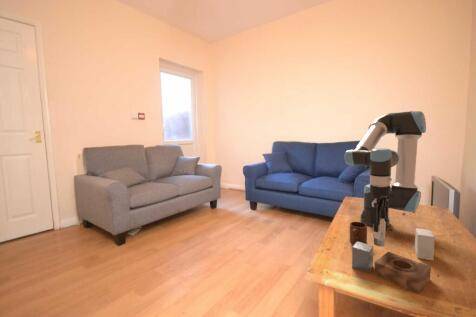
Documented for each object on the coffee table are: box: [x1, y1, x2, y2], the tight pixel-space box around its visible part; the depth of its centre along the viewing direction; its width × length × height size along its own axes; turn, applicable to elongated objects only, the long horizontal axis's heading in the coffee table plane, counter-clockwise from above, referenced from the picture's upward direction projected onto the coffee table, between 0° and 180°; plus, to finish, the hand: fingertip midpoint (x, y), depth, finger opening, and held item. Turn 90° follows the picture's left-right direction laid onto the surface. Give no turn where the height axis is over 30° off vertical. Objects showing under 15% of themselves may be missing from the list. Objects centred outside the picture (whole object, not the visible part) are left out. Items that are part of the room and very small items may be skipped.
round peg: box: [373, 217, 386, 248], centre depth 101 cm, size 4×4×12 cm
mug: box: [349, 221, 368, 246], centre depth 111 cm, size 12×8×9 cm, turn 139°
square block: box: [351, 242, 374, 275], centre depth 93 cm, size 6×6×9 cm
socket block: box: [373, 251, 432, 294], centre depth 86 cm, size 14×12×5 cm
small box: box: [414, 227, 435, 261], centre depth 100 cm, size 8×6×10 cm
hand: (379, 236), depth 101 cm, fingers closed on round peg, 4 cm apart
